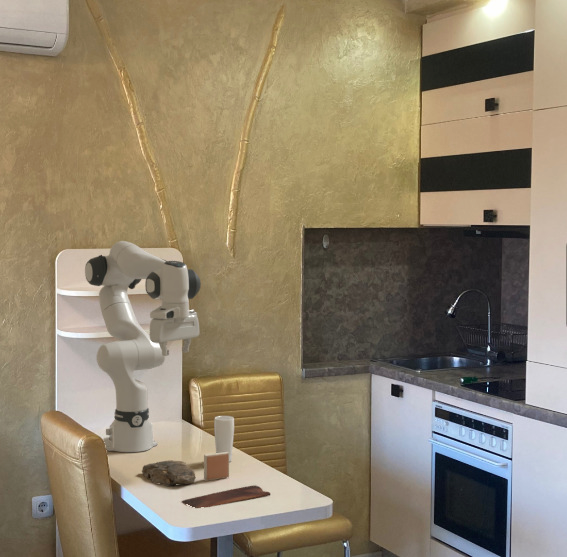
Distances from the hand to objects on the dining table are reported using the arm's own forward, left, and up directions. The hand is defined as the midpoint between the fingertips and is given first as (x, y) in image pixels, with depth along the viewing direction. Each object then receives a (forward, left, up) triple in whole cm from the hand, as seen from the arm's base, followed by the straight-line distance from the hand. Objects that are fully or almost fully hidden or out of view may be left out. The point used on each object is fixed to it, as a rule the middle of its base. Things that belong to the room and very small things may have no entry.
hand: (175, 353), depth 283 cm
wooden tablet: (+32, +4, -40) cm, 51 cm away
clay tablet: (+7, -4, -39) cm, 40 cm away
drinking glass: (-4, +19, -39) cm, 44 cm away
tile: (+13, +9, -39) cm, 42 cm away
